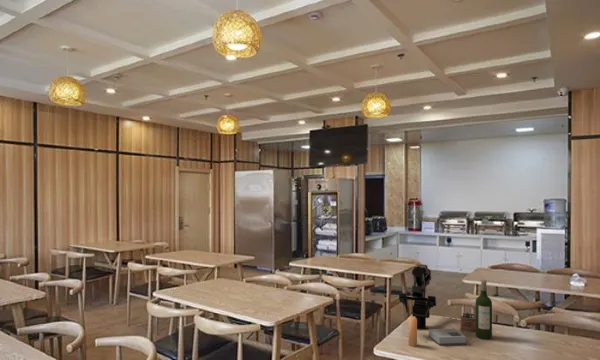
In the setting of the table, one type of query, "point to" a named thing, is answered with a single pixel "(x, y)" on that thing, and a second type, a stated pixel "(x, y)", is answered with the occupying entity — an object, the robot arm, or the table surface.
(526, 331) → the table surface
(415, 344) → the pin
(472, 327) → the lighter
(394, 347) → the table surface
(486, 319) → the wine bottle
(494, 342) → the table surface
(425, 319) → the robot arm
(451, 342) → the socket block
